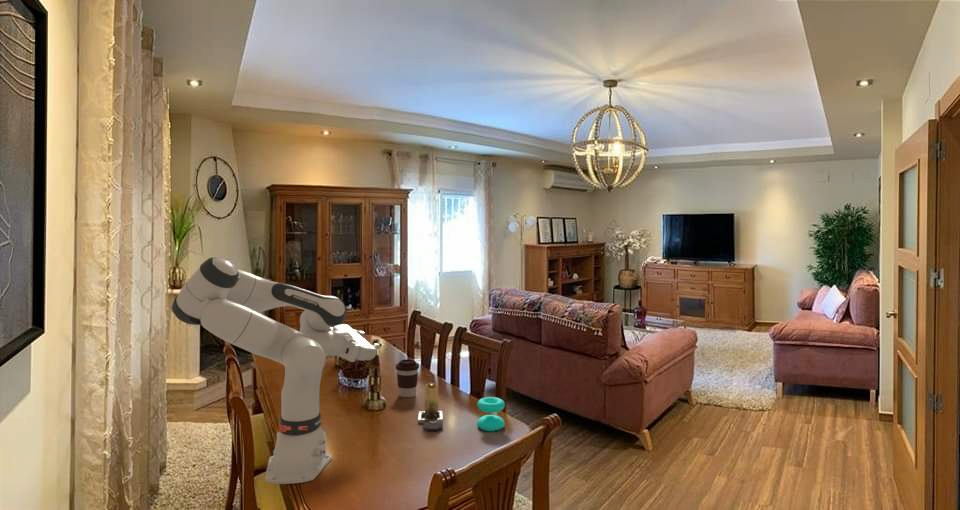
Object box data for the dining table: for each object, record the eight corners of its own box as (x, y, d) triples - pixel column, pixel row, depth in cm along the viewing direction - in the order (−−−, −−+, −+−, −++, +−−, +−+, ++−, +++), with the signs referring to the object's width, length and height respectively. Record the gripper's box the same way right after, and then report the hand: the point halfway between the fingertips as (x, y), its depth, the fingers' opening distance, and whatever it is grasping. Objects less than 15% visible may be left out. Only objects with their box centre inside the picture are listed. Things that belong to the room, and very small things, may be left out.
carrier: (443, 431, 186) (443, 424, 186) (423, 431, 185) (423, 425, 185) (442, 419, 197) (442, 412, 197) (423, 419, 197) (423, 413, 197)
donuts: (472, 401, 188) (486, 394, 197) (472, 428, 189) (485, 420, 197) (496, 406, 183) (509, 398, 192) (496, 434, 184) (509, 425, 192)
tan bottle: (438, 418, 197) (438, 387, 194) (424, 418, 196) (424, 388, 194) (437, 411, 202) (437, 381, 199) (424, 412, 201) (424, 381, 198)
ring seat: (442, 423, 194) (442, 419, 194) (418, 423, 193) (418, 419, 193) (442, 414, 203) (442, 410, 203) (418, 414, 202) (418, 411, 202)
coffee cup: (421, 392, 230) (421, 358, 229) (416, 399, 220) (416, 364, 219) (399, 391, 231) (399, 357, 230) (393, 398, 221) (393, 363, 220)
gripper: (322, 336, 192) (352, 333, 203) (354, 364, 180) (384, 360, 191) (327, 320, 190) (357, 319, 201) (359, 348, 178) (389, 345, 189)
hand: (370, 339), depth 196 cm, fingers open, 8 cm apart
